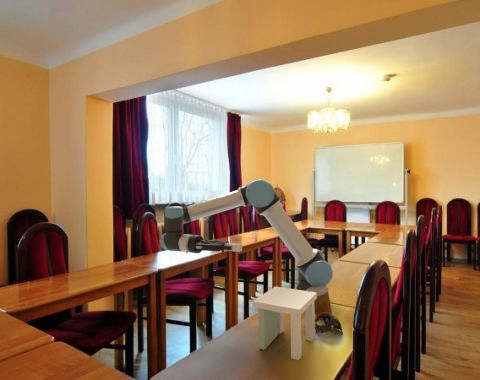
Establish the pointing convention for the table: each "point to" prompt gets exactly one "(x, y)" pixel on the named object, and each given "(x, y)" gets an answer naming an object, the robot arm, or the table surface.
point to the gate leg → (267, 327)
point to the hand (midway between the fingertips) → (240, 247)
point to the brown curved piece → (327, 323)
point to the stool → (291, 312)
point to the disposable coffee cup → (321, 299)
